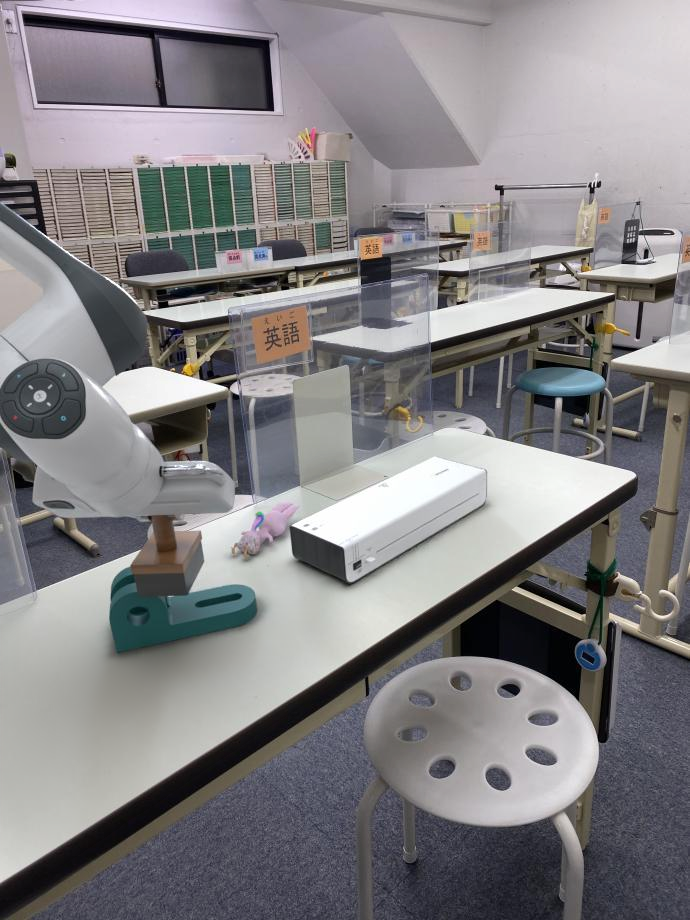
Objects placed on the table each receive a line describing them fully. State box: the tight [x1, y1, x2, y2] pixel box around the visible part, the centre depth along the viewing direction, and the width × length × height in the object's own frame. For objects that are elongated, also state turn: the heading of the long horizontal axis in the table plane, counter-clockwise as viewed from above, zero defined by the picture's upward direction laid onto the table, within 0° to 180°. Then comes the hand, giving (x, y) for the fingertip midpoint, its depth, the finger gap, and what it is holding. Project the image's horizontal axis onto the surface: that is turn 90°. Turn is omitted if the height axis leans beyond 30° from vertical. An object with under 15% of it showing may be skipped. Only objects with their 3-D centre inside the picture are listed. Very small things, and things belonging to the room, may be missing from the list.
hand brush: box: [129, 515, 205, 597], centre depth 82 cm, size 8×6×14 cm
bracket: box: [108, 566, 258, 654], centre depth 88 cm, size 18×7×8 cm, turn 106°
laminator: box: [289, 455, 488, 585], centre depth 107 cm, size 34×12×6 cm, turn 135°
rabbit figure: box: [230, 502, 301, 562], centre depth 108 cm, size 6×6×15 cm
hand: (163, 515), depth 82 cm, fingers closed on hand brush, 2 cm apart
